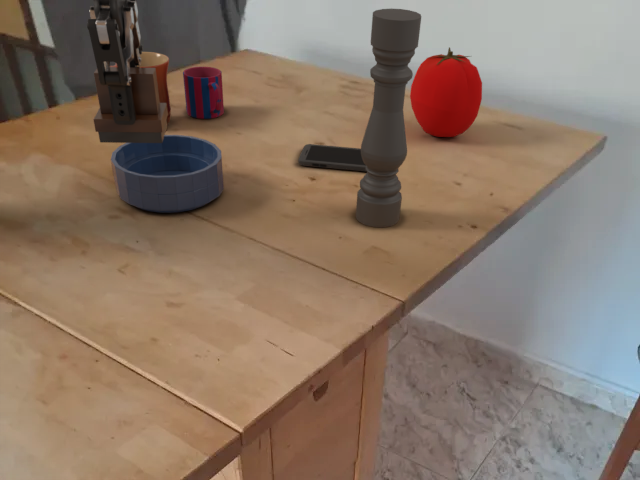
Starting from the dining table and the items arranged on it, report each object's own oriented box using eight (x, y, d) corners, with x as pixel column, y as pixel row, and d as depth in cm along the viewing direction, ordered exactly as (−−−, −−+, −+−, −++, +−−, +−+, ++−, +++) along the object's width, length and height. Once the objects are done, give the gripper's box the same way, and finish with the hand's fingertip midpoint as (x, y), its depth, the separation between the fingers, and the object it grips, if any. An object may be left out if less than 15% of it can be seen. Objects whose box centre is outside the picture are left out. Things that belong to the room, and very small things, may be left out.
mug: (168, 112, 124) (161, 49, 117) (182, 129, 118) (175, 64, 111) (101, 120, 120) (90, 55, 113) (112, 137, 115) (100, 71, 108)
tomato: (461, 152, 115) (476, 66, 106) (394, 137, 119) (403, 53, 110) (485, 131, 122) (500, 49, 113) (421, 117, 126) (431, 37, 117)
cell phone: (384, 173, 107) (385, 168, 107) (297, 165, 108) (297, 160, 108) (388, 155, 112) (388, 150, 112) (304, 147, 114) (304, 143, 113)
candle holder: (372, 231, 93) (391, 23, 76) (346, 213, 97) (359, 11, 80) (408, 221, 96) (434, 17, 79) (382, 203, 100) (402, 6, 82)
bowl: (95, 199, 98) (87, 161, 94) (162, 163, 107) (157, 127, 104) (182, 226, 93) (177, 186, 89) (243, 185, 102) (242, 148, 99)
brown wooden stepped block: (97, 143, 73) (85, 77, 69) (106, 125, 77) (95, 62, 73) (163, 144, 74) (155, 79, 69) (169, 125, 78) (162, 63, 73)
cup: (217, 104, 128) (215, 65, 123) (234, 123, 121) (232, 81, 117) (182, 108, 126) (178, 68, 121) (197, 127, 119) (194, 85, 115)
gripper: (74, -92, 67) (106, 91, 79) (38, -70, 57) (81, 138, 68) (151, -90, 68) (172, 92, 79) (130, -67, 57) (157, 138, 69)
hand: (129, 112), depth 74 cm, fingers closed on brown wooden stepped block, 5 cm apart
